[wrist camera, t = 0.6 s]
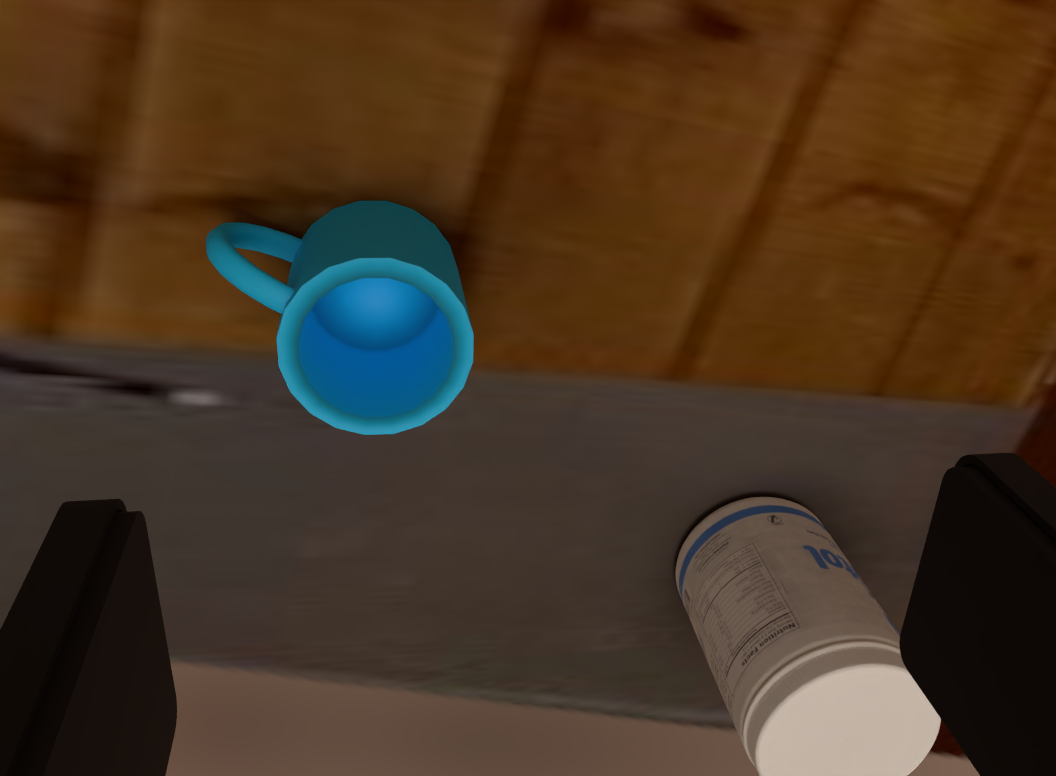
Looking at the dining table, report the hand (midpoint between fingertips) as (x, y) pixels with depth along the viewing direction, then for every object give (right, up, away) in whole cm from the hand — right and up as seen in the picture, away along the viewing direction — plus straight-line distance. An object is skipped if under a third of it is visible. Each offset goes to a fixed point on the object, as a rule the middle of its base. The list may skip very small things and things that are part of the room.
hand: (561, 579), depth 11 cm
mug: (-10, +8, +36) cm, 38 cm away
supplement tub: (+13, -8, +48) cm, 50 cm away
